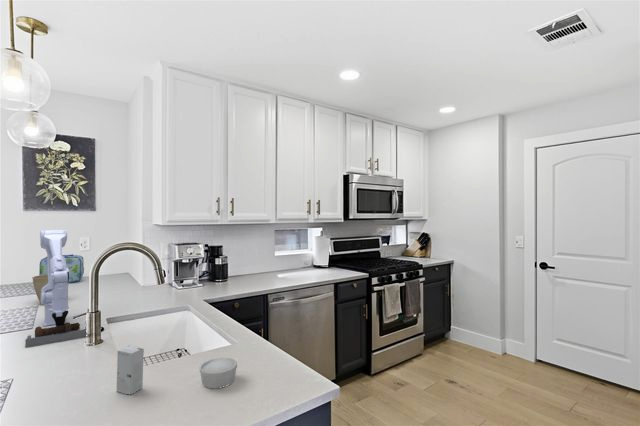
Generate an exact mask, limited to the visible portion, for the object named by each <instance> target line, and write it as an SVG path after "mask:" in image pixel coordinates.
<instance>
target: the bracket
mask: <svg viewBox="0 0 640 426" xmlns="http://www.w3.org/2000/svg"><path fill="white" fill-rule="evenodd" d="M82 338H87V337H86V326H85V327H84V329H79V330H74V331H71V332H66V333H59V334H53V335H47V336H41V337H35V336H34V337H32V335H31V334H30V335H27V337H26V338H25V341H24V342H25V348H30V347H37V346H42V345H47V344H54V343H59V342H65V341H70V340H77V339H82Z"/></svg>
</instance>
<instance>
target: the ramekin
mask: <svg viewBox="0 0 640 426" xmlns="http://www.w3.org/2000/svg"><path fill="white" fill-rule="evenodd" d="M237 367H238V361H237V360H235V359H233V358H229V357H217V358H213V359H209V360H207V361H205V362H202V364H200V366H199V373H200V377H201V383H202V385H203V386H204V387H205V386H206V387H205V388H207V387H208V388H207V389H210V388H219V389H221V388H220V387H223V386H226V385H228V384H230V383H231V382H232V383H233V382H234V381H235V377H236V373H237ZM232 383H231V384H232ZM231 384H230V385H231ZM228 386H229V385H228ZM226 387H227V386H226Z"/></svg>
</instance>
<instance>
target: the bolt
mask: <svg viewBox="0 0 640 426" xmlns="http://www.w3.org/2000/svg"><path fill="white" fill-rule="evenodd" d="M78 330H81V324H80V323H79V322H72V323H70V322H65V323H64V325H62V326H56V325H55V326H51V327H44V328H43V327H42V326H40V325H39V326H36V327H35V329H34V338H35V337H41V336H47V335H54V334H60V333H66V332H72V331H78Z"/></svg>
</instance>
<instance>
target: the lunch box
mask: <svg viewBox="0 0 640 426" xmlns="http://www.w3.org/2000/svg"><path fill="white" fill-rule="evenodd" d="M62 256H63V257H65V259H66V265H67V268H68V270H69V273H70V281H69V283H77V282H79V281H81V280H82V279H83V277H84V274H85V267H84V265H85V264H84V263H85V262H84V257H83V256H81V255H77V254H75V255H74V254H62ZM38 274H39V275H47V274H48V263H47V256H45V257H43V258H42V259H40V261H39V273H38ZM39 275H38V276H39ZM67 283H68V281H67ZM69 283H68V284H69Z"/></svg>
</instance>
